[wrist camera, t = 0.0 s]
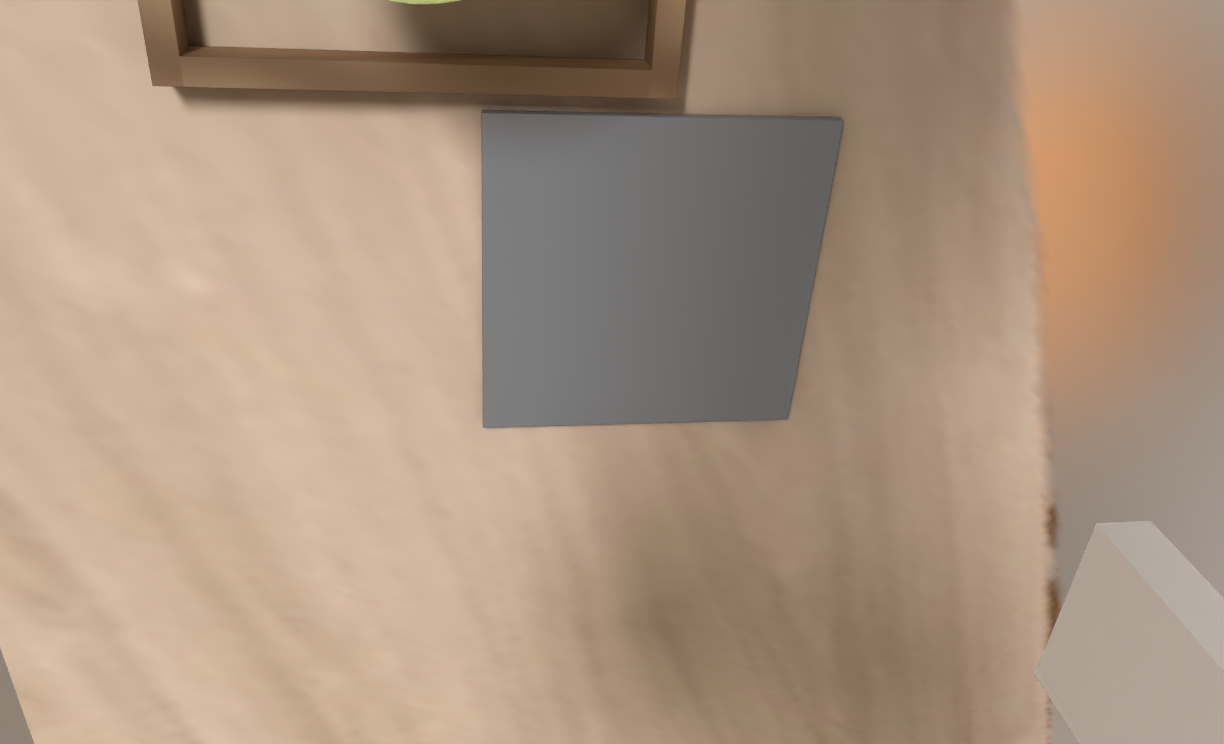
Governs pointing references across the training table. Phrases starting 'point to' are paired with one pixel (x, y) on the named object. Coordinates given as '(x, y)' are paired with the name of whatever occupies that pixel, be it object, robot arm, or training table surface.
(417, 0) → the plant pot
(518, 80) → the tray frame
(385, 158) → the training table surface
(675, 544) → the training table surface
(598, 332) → the mat
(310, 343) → the training table surface
